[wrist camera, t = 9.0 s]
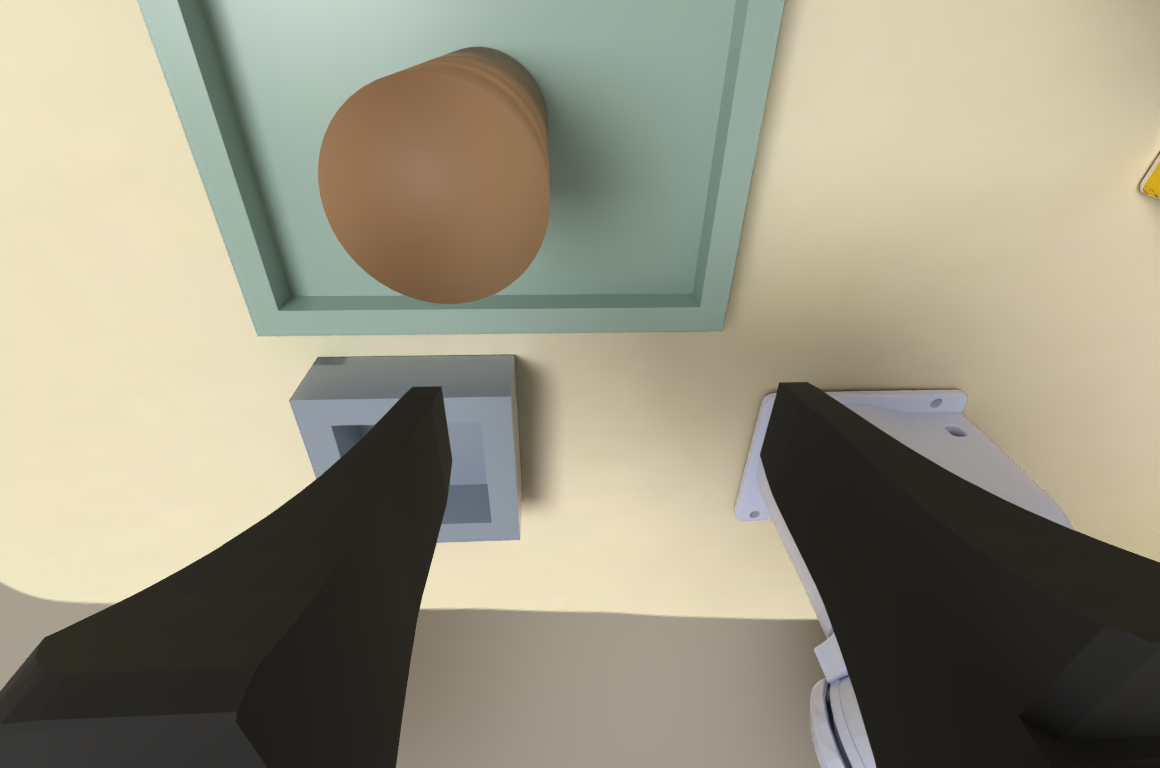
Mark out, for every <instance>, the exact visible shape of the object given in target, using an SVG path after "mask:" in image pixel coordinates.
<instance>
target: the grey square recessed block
mask: <svg viewBox="0 0 1160 768" xmlns="http://www.w3.org/2000/svg"><path fill="white" fill-rule="evenodd" d="M427 386H442V392H443V399H444V406H445V413H446V420H447V426H448V433H449V440H450V447H451V454H452V468H451V477H450V485H449V492H448V499H447V504H446V508H445V512H444V516H443V520H442V524H441V528H440V532H439V535H438V539H437V543H440V542H470V541H500V540H520V530H521V506H522V481H521V464H520V446H519V429H518V411H517V394H516V376H515V359H514V355H464V356H388V357H318V358H317V359H316V361H315V362H314V364H313V365H312V367H311V368H310V370H309V371H308V373H307V374H306V376H305V377H304V379H303V380H302V382H301V383H300V385H299V386H298V388H297V389H296V391H295V392H294V394H293V395H292V397H291V398H290V400H289V401H290V404H291V407H292V410H293V413H294V416H295V418H296V421H297V424H298V427H299V430H300V433H301V436H302V439H303V441H304V444H305V447H306V450H307V453H308V456H309V459H310V461H311V464H312V467H313V470H314V473H315V476H316V479H317V478H318V477H320V476H321V475H322V474H323V473H324V472H325V471H326V470H328V469H329V468H330V467H331V466H332V465H333V464H334V463H335V462H337V461H338V460H339V459H340V458H341V457H342V456H343V455H344V454H346V453H347V452H348V451H349V450H350V449H351V448H352V447H353V446H354V445H355V444H356V443H357V442H358V441H359V440H360V439H361V438H362V437H363V436H364V435H365V434H366V433H367V432H368V431H369V430H370V429H371V428H372V427H373V426H374V425H375V424H376V423H377V422H378V421H379V420H380V419H381V418H382V417H383V416H384V415H385V414H386V413H387V412H388V411H389V410H390V409H391V408H392V407H393V406H394V404H395V403H396V402H397V401H398V400H399V399H400V398H401V397H402V396H403V395H404V394H405V393H406V392H407V391H408V390H409V389H410V388H411V387H427Z"/></svg>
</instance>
